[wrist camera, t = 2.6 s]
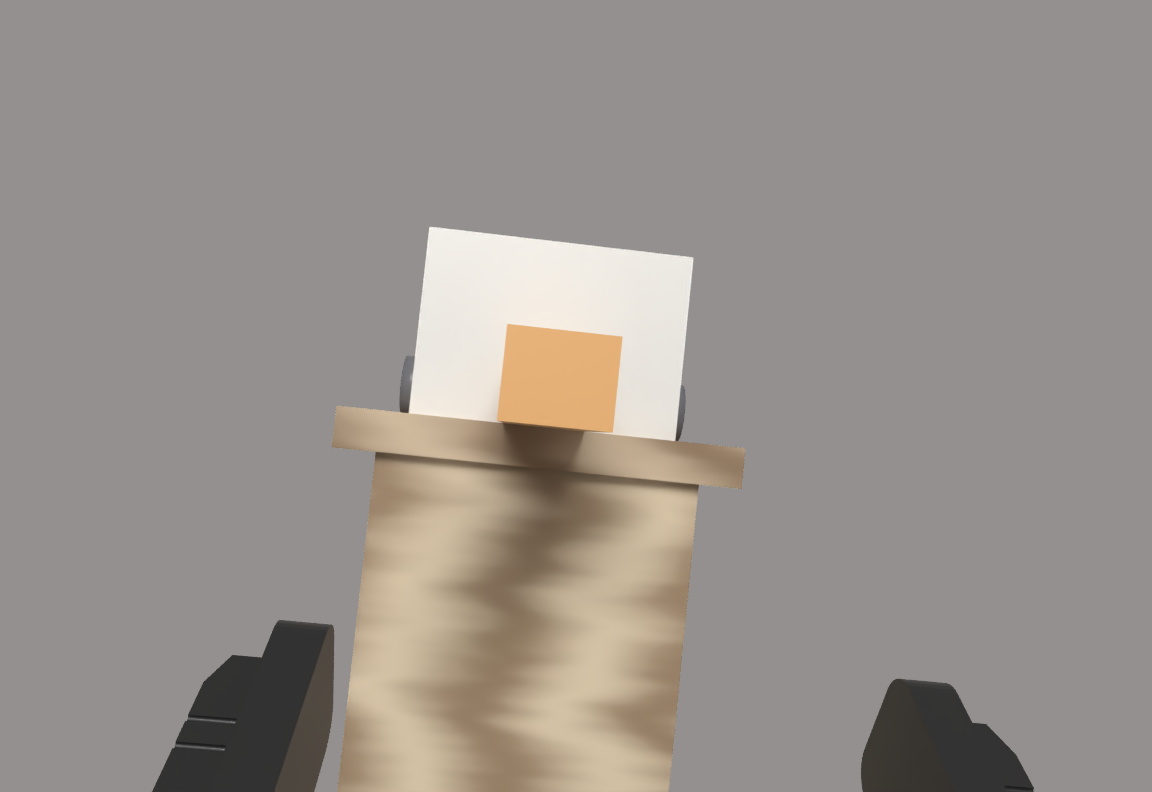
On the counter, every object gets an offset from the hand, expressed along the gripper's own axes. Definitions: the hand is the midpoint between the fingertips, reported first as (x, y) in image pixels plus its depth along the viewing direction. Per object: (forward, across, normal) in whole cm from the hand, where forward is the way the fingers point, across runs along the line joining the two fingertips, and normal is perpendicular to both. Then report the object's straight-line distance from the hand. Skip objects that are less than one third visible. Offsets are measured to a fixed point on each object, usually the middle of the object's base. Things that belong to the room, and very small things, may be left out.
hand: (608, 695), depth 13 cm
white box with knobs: (+18, +1, +6) cm, 19 cm away
